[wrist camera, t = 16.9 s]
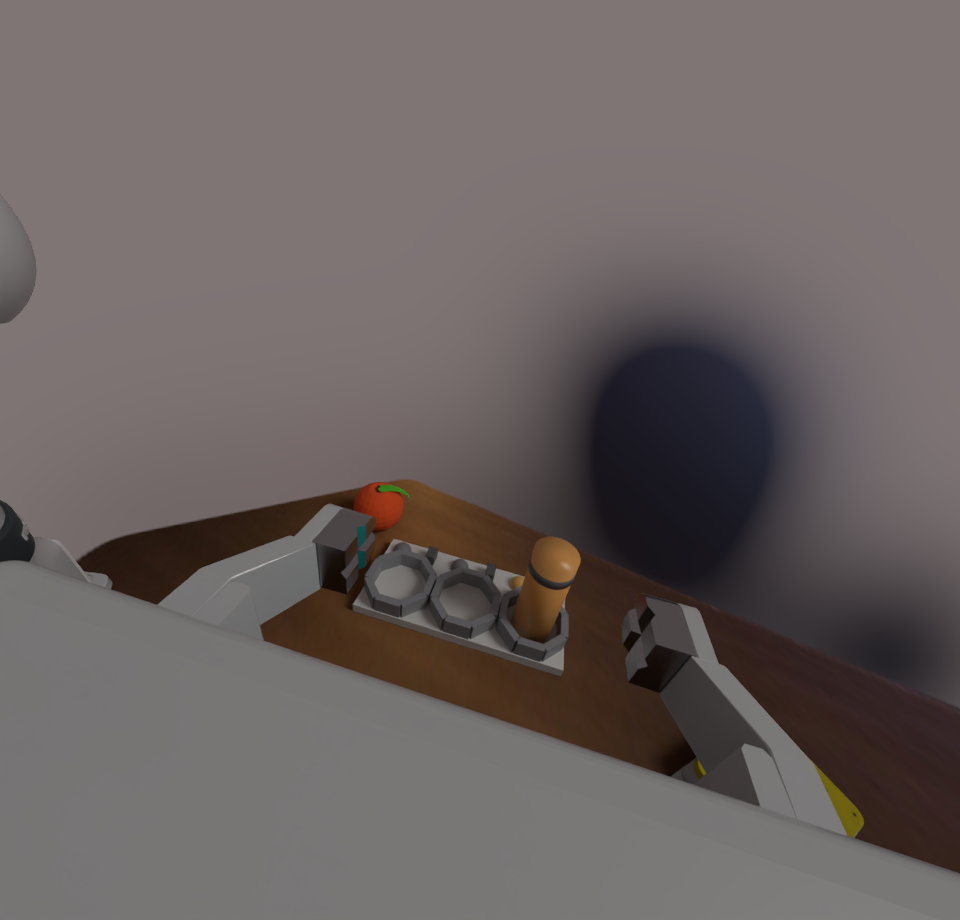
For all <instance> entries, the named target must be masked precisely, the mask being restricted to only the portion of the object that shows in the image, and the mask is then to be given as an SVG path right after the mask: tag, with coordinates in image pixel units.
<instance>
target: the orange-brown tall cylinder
mask: <svg viewBox="0 0 960 920" xmlns="http://www.w3.org/2000/svg"><path fill="white" fill-rule="evenodd" d="M580 560H581V559H580V555H579V553H578V551H577V550H576V548H575V547H574V546H573V545H571V544H570V543H568V542H567V541H565V540H563V539H560V538H556V537H544V538H541V539H539V540H538V541H537V542H536V544H535V547H534V550H533V553H532V555H531V557H530V561H529V564H528V568H527V572H526V575H525V578H524V581H523V584H522V587H521V590H520V593H519V597H518V600H517V603H516V606H515V609H514V612H513V615H512V618H511V625H512V626H513V628H514V629H515V631H516V632H517V633H518V635H519V636H520V637H522V638H525V639H529V640H532V641H535V642H538V643H542V644H543V643H544V642H546V641H547V639H548V637H549V635H550V633H551V630H552V628H553V626H554V623H555V621H556V619H557V616H558V614H559V612H560V609H561V607H562V605H563V602H564V600H565V597H566V595H567V593H568V590H569V588H570V586H571V584H572V582H573V580H574V578H575V575H576V572H577V569H578V567H579V565H580Z"/></svg>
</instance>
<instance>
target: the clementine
mask: <svg viewBox="0 0 960 920" xmlns="http://www.w3.org/2000/svg"><path fill="white" fill-rule="evenodd" d="M400 492H401V493H404V494H406V495H407V496H409V495H408V494H407V493H406V492H405V491H404V490H402V489H400V488H398V487H396V486H392V485H390V484H388V483H383V482H375V483H371V484H368V485H366V486H365V487H364V488H362V489H361V490H360V491H359V492H358V494H357V496H356V497H355V500H354V505H353V508H354V511H356V512H359V513H363V514H366V515H369V516H372V517H374V518H375V519H376V527H375V528H374V530H373V531H381V530H386V529H388V528H390V527H392V526H393V525H395V524H396V523H397V522H398V520H399V519H400V517H401V515H402V512H403V506H404V505H403V499H402V496H401V494H400ZM409 498H410V497H409ZM410 500H411V499H410Z"/></svg>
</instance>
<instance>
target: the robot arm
mask: <svg viewBox="0 0 960 920" xmlns="http://www.w3.org/2000/svg"><path fill="white" fill-rule="evenodd" d="M35 280H36V262H35V256H34V252H33V249H32V245H31V243H30V240H29V237H28V235H27V233H26V231H25V230H24V227H23V225H22V224H21V222H20V220H19V219H18V217H17V216H16V214H15V213H14V212H13V210H12V208H11V207H10V206H9V204H8V203H7V202H6V201H5V200H4V198H3V197H2V196H1V195H0V324H1V323H6V322H10V321H11V320H12V319H13V318H15V317H16V316H17V315H18V314H19V313H20V312H21V311H22V309H23V308H24V307H25V305H26V304H27V303H28V301H29V299H30V297H31V295H32V292H33V289H34V286H35ZM375 527H376V519H375V518H374V517H372V516H369V515H366V514H363V513H359V512H356V511H353V510H350V509H347V508H342V507H339V506H336V505H333V504H327V505H325V506H324V507H323V508H322V509H321V510H320V511H319V512H318V513H317V514H316V515H315V516H314V517H313V518H312V519H311V520H310V521H309V522H308V523H307V524H306V525H305V526H304V527H303V528H302V529H301V530H300V531H299V532H298V533H297V534H296V535H295V536H294V537H293V536H287V537H284V538H282V539H279V540H276V541H274V542H271V543H268V544H265V545H263V546H260V547H257V548H255V549H252V550H249V551H246V552H244V553H241V554H238V555H236V556H233V557H230V558H227V559H225V560H222V561H219V562H217V563H214V564H211V565H208V566H206V567H203V568H200V569H199V570H198V571H197V572H196V573H195V574H193V575H192V576H191V577H190V578H189V579H187V580H186V581H185V582H184V583H183V584H181V585H180V586H179V587H178V588H177V589H176V590H174V591H173V592H172V593H171V594H170V595H168V596H167V597H166V598H165V599H164V600H163V601H161V602H160V603H159V604H158V605H155V604H152V603H149V602H146V601H143V600H140V599H137V598H134V597H131V596H129V595H126V594H123V593H120V592H117V591H114V590H111V587H112V581H111V580H110V579H109V577H108V576H107V575H105V574H99V573H91V572H84V571H83V570H82V569H81V567H80V566H79V565H78V563H77V562H76V561H75V560H74V558H73V557H72V556H71V554H70V553H69V552H68V551H67V550H66V548H65V547H64V546H63V544H61V543H60V542H59V541H57V540H55V539H51V540H49V539H45V538H41V537H32V535H31V534H30V532H29V529H28V527H27V525H26V523H25V522H24V520H23V519H22V518H21V517H20V515H18V514H17V513H15V512H14V510H13V509H12V508H11V507H10V506H9V505H8V504H6V503H5V502H3V501H1V500H0V920H960V873H957V872H954V871H951V870H948V869H945V868H942V867H939V866H936V865H933V864H930V863H927V862H924V861H921V860H918V859H915V858H912V857H909V856H906V855H903V854H900V853H897V852H894V851H891V850H888V849H885V848H882V847H879V846H876V845H873V844H870V843H867V842H864V841H861V840H858V839H855V838H852V837H849V836H847V834H846V831H845V829H844V827H843V825H842V823H841V821H840V819H839V817H838V815H837V812H836V810H835V808H834V806H833V804H832V802H831V800H830V798H829V795H828V793H827V791H826V789H825V787H824V785H823V783H822V781H821V779H820V776H819V774H818V772H817V770H816V768H815V766H814V764H813V763H812V762H811V761H810V760H809V758H808V757H807V756H806V755H805V754H804V753H803V752H802V751H801V750H800V749H799V747H798V746H797V745H796V744H795V743H794V742H793V741H792V740H791V739H790V738H789V736H788V735H787V734H786V733H785V732H784V731H783V730H782V729H781V728H780V727H779V725H778V724H777V723H776V722H775V721H774V720H773V719H772V718H771V717H770V715H769V714H768V713H767V712H766V711H765V710H764V709H763V708H762V707H761V706H760V704H759V703H758V702H757V701H756V700H755V699H754V698H753V697H752V696H751V695H750V693H749V692H748V691H747V690H746V689H745V688H744V687H743V686H742V685H741V684H740V682H739V681H738V680H737V679H736V678H735V677H734V676H733V675H732V674H731V673H730V671H729V670H728V669H727V668H726V667H725V666H723V665H720V664H719V663H718V661H717V658H716V655H715V653H714V650H713V647H712V644H711V642H710V639H709V636H708V633H707V631H706V628H705V625H704V622H703V620H702V617H701V614H700V612H699V611H698V610H697V609H696V608H693V607H689V606H686V605H682V604H679V603H675V602H671V601H668V600H664V599H660V598H657V597H653V596H649V595H646V594H642V593H641V594H640V595H638V597H637V598H636V600H635V601H634V602H635V607H636V608H635V609H632V610H630V611H628V613H627V615H626V617H625V618H624V622H623V627H622V639H623V644H624V646H625V647H626V649H627V650H628V652H629V653H628V655H627V656H626V658H625V663H626V670H627V677H628V682H629V683H632V684H635V685H638V686H641V687H644V688H646V689H649V690H652V691H655V692H658V693H660V694H659V695H660V697H661V698H662V700H663V702H664V703H665V705H666V707H667V708H668V710H669V712H670V713H671V715H672V717H673V719H674V720H675V722H676V724H677V725H678V727H679V729H680V730H681V732H682V734H683V735H684V737H685V739H686V740H687V742H688V744H689V745H690V747H691V749H692V750H693V752H694V754H695V755H696V757H697V759H698V760H699V762H700V764H701V765H702V767H703V769H704V770H705V772H706V774H705V775H704V776H703V777H701V778H700V779H699V780H698V781H696V782H695V783H694V784H690V783H687V782H684V781H681V780H678V779H675V778H672V777H669V776H666V775H663V774H660V773H658V772H655V771H652V770H649V769H646V768H643V767H640V766H637V765H634V764H631V763H628V762H625V761H622V760H619V759H616V758H613V757H610V756H607V755H604V754H601V753H598V752H595V751H592V750H589V749H586V748H583V747H580V746H577V745H574V744H571V743H568V742H565V741H562V740H559V739H556V738H553V737H550V736H547V735H544V734H541V733H538V732H535V731H532V730H529V729H526V728H523V727H520V726H517V725H514V724H511V723H508V722H505V721H502V720H499V719H496V718H493V717H490V716H487V715H484V714H481V713H478V712H475V711H472V710H469V709H466V708H463V707H460V706H457V705H454V704H451V703H448V702H445V701H442V700H439V699H436V698H433V697H430V696H427V695H424V694H421V693H418V692H415V691H412V690H409V689H406V688H403V687H400V686H397V685H394V684H391V683H388V682H385V681H382V680H379V679H376V678H373V677H370V676H367V675H364V674H361V673H358V672H355V671H352V670H349V669H346V668H343V667H340V666H337V665H334V664H331V663H328V662H325V661H322V660H319V659H316V658H313V657H310V656H307V655H304V654H301V653H298V652H295V651H292V650H290V649H287V648H284V647H281V646H278V645H275V644H272V643H269V642H266V641H264V639H263V635H262V631H261V628H260V625H261V624H262V623H264V622H266V621H267V620H269V619H271V618H272V617H274V616H276V615H277V614H279V613H281V612H282V611H284V610H286V609H287V608H289V607H291V606H292V605H294V604H295V603H297V602H299V601H300V600H302V599H304V598H305V597H307V596H309V595H310V594H312V593H314V592H315V591H317V590H319V589H320V587H322V588H326V589H329V590H333V591H336V592H340V593H343V594H348V592H349V591H350V589H351V588H352V586H353V585H354V583H355V582H356V580H357V579H358V570H359V569H361V568H363V567H365V566H366V565H367V563H368V562H369V560H370V558H371V556H372V554H373V551H374V547H375V539H376V537H375V536H374V534H373V533H372V531H373V530H374V528H375Z"/></svg>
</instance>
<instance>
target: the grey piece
mask: <svg viewBox="0 0 960 920" xmlns="http://www.w3.org/2000/svg"><path fill="white" fill-rule="evenodd" d="M496 567H497V566H496V565H493V564H489V563H488V565H487V566H486V565H482V564H479V563H475V562H472V561H468V560H465V559H461V558H458V557H455V556H451V555H448V554H444V553H441V552H438V549H437V548H434V547H429V549H427V548H424V547H420V546H417V545H413V544H410V543H406V542H403V541H399V540H396V539H393V541H392V542H391V544H390V546H389V547H388V549H387V550H386V552H385V554H384V555H381V556H378V558H376V559H375V560H374V562H373V563H372V565H371V566H370V568H369V570H368V571H367V573H366V574H365V578H364V587H363V589H362V591H361V592H360V594H359V595H358V597H357V599H356V600H355V602H354V603H353V611H354V612H358V613H361V614H364V615H367V616H370V617H373V618H377V619H380V620H383V621H386V622H389V623H392V624H396V625H399V626H402V627H405V628H408V629H411V630H415V631H418V632H421V633H424V634H427V635H430V636H434V637H437V638H440V639H443V640H446V641H449V642H453V643H456V644H459V645H462V646H465V647H468V648H472V649H475V650H478V651H481V652H484V653H487V654H491V655H494V656H497V657H500V658H503V659H507V660H510V661H513V662H516V663H519V664H522V665H526V666H529V667H532V668H535V669H538V670H541V671H545V672H548V673H551V674H554V675H557V676H561V674H562V672H563V668H564V645H565V643H566V641H567V639H568V615H567V611H566V610H565V600H564V602H563V605H562V607H561V609H560V612H559V614H558V616H557V619H556V621H555V623H554V626H553V628H552V630H551V633H550V635H549V637H548V639H547V641H546V642H544V643H543V644H542V643H538V642H535V641H532V640H529V639H525V638H522V637H520V636H519V635H518V633H517V632H516V631H515V629H514V628H513V626H512V625H511V618H512V615H513V612H514V609H515V606H516V603H517V600H518V597H519V593H520V590H521V587H522V584H523V581H524V578H525V577H524V576H520V575H517V574H513V573H510V572H506V571H503V570H499V569H496Z"/></svg>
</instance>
